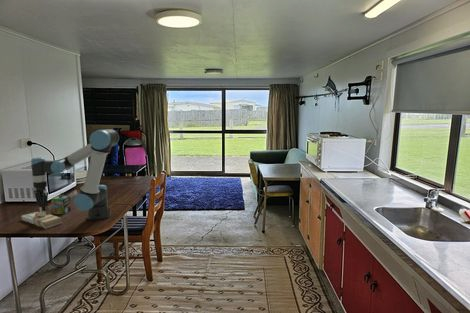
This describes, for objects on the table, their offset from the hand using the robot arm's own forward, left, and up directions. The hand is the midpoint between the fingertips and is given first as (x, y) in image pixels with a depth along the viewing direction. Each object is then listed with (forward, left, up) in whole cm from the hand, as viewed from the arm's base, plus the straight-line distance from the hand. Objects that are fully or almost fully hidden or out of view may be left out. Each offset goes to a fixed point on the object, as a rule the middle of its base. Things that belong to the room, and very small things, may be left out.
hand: (43, 215), depth 196 cm
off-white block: (+10, 0, -1) cm, 10 cm away
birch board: (-5, 0, -5) cm, 7 cm away
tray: (+10, 0, -5) cm, 11 cm away
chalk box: (+10, -18, -5) cm, 21 cm away
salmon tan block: (+3, 0, -2) cm, 4 cm away
